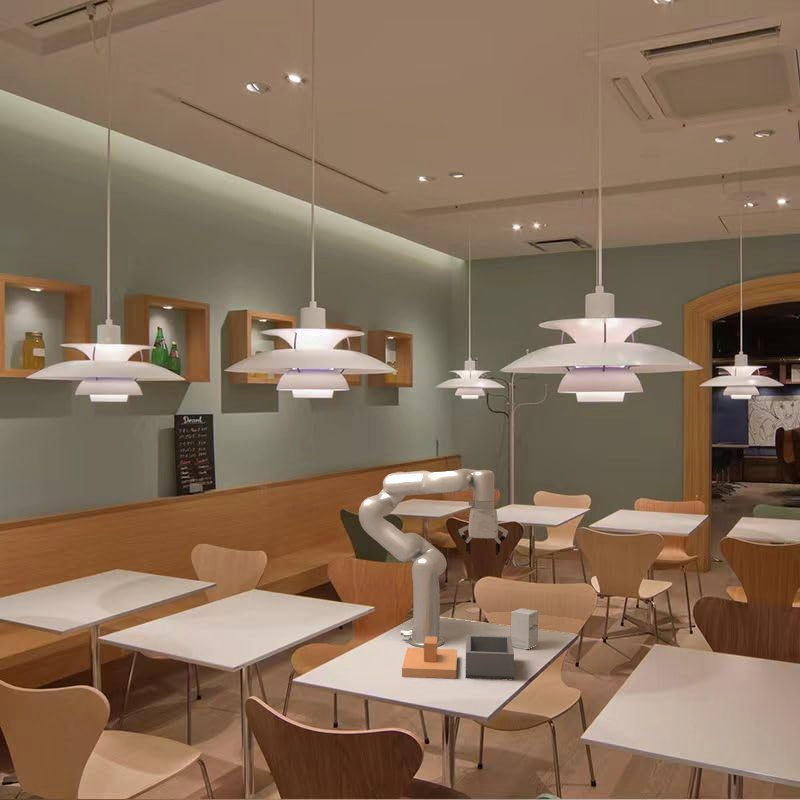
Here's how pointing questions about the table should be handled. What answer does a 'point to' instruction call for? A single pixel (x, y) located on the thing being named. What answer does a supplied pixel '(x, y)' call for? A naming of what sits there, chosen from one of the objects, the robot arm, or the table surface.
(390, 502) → the robot arm
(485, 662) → the tub
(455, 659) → the lid
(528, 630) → the supplement box
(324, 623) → the table surface
